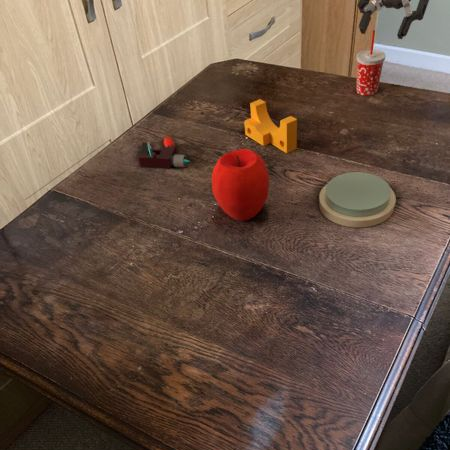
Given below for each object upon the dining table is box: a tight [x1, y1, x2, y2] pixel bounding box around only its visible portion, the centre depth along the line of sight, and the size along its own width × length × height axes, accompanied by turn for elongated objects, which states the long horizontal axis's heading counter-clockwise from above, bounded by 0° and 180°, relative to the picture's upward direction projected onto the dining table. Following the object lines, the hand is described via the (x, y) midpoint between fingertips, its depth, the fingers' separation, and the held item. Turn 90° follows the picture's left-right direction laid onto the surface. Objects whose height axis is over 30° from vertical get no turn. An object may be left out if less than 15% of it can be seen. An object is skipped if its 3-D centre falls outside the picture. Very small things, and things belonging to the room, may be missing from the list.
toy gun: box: [136, 136, 191, 169], centre depth 102 cm, size 10×12×5 cm
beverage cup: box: [355, 29, 387, 96], centre depth 109 cm, size 6×6×14 cm
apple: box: [211, 148, 270, 222], centre depth 84 cm, size 10×10×12 cm
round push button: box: [318, 171, 397, 229], centre depth 86 cm, size 13×13×3 cm
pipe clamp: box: [244, 98, 298, 154], centre depth 102 cm, size 12×4×6 cm, turn 34°
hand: (380, 34), depth 107 cm, fingers open, 8 cm apart
